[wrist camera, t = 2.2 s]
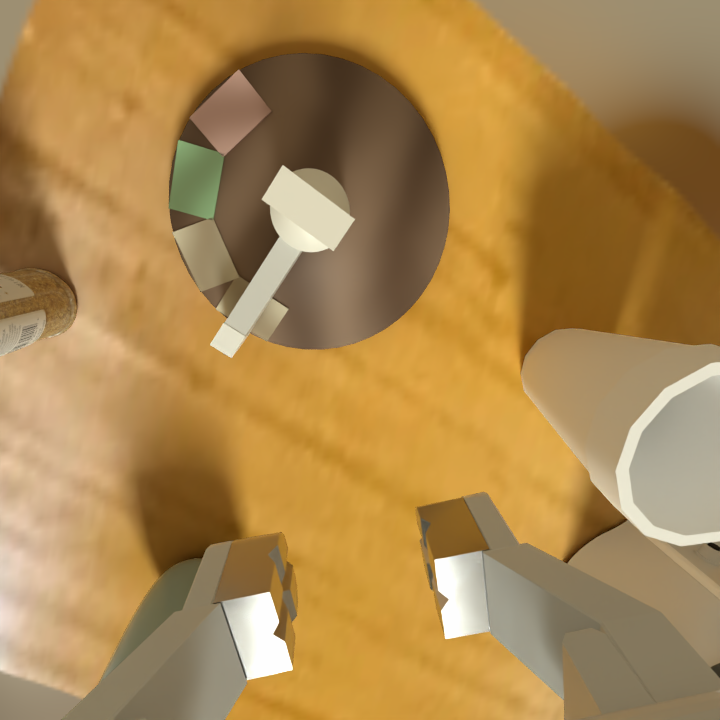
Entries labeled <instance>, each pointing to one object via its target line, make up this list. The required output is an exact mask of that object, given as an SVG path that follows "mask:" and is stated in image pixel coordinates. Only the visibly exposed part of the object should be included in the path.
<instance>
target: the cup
mask: <svg viewBox="0 0 720 720" xmlns="http://www.w3.org/2000/svg"><path fill="white" fill-rule="evenodd" d="M201 561H202V558H195V559H188V560H185V561H181V562H179V563H177V564H175V565H174V566H172V567H170V568H169V569H168V570H167V571H165V572H164V573H163V574H162V575H161V576H160V577H159V578H158V579H157V580H156V582H155V583H154V584H153V585H152V587H151V588H150V590H149V591H148V593H147V594H146V595H145V597H144V598H143V600H142V602H141V603H140V605H139V606H138V608H137V610H136V611H135V613H134V615H133V617H132V618H131V620H130V622H129V624H128V626H127V628H126V630H125V631H124V633H123V635H122V637H121V639H120V641H119V643H118V645H117V647H116V649H115V651H114V653H113V655H112V657H111V659H110V661H109V663H108V665H107V667H106V669H105V671H104V673H103V675H102V677H101V679H100V681H99V683H100V682H101V681H102V680H104V679H105V678H106V677H107V676H108V675H109V674H110V673H111V672H112V671H113V670H114V669H115V668H116V667H117V666H118V665H119V664H120V663H121V662H122V661H124V660H125V659H126V658H127V657H128V656H129V655H130V654H131V653H132V652H133V651H134V650H135V649H136V648H137V647H138V646H139V645H140V644H141V643H142V642H143V641H145V640H146V639H147V638H148V637H149V636H150V635H151V634H152V633H153V632H154V631H155V630H156V629H157V628H158V627H159V626H160V625H161V624H162V623H163V622H164V621H166V620H167V619H168V618H169V617H170V616H171V615H172V614H173V613H174V612H176V611H181V610H183V607H184V605H185V602H186V599H187V597H188V594H189V592H190V589H191V587H192V584H193V581H194V579H195V576H196V574H197V571H198V569H199V566H200V564H201Z"/></svg>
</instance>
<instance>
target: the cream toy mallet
mask: <svg viewBox="0 0 720 720" xmlns="http://www.w3.org/2000/svg"><path fill="white" fill-rule="evenodd" d="M261 200H263V201H264V202H266V203H267V204H268V205H270V214H271V220H272V223H273V226H274V228H275V230H276V232H277V233H278V235H279V236H280V237H279V238H278V240H277V241H276V243H275V244H274V246H273V248H272V249H271V251H270V252H269V254H268V255H267V257H266V259H265V260H264V262H263V263H262V265H261V266H260V268H259V270H258V271H257V273H256V274H255V276H254V277H253V279H252V281H251V282H250V284H249V285H248V287H247V288H246V290H245V292H244V293H243V295H242V296H241V298H240V299H239V301H238V303H237V304H236V306H235V307H234V309H233V310H232V312H231V314H230V315H229V317H228V318H227V320H226V321H225V322H224V323H223V325H222V327H221V328H220V330H219V331H218V333H217V334H216V336H215V338H214V339H213V341H212V342H211V344H210V345H211V346H213V347H214V348H216V349H217V350H219V351H221V352H222V353H224V354H226V355H227V356H229V357H231V358H232V357H233V355H234V354H235V353H236V352H237V350H238V349H239V348H240V346H241V345H242V344H243V342H244V341H245V339H246V338H247V336H248V335H249V333H250V332H251V330H252V329H253V327H254V326H255V324H256V322H257V320H258V319H259V317H260V316H261V314H262V312H263V311H264V309H265V308H266V306H267V305H268V303H269V302H270V300H271V299H272V297H273V296H274V294H275V293H276V291H277V290H278V288H279V286H280V285H281V283H282V282H283V280H284V279H285V277H286V276H287V274H288V273H289V271H290V270H291V268H292V267H293V265H294V264H295V262H296V260H297V259H298V257H299V256H300V254H301V253H302V251H304V252H319V251H323V250H325V249H328V248H330V249H331V250H332V251H334V250H335V248H336V247H337V245H338V244H339V242H340V241H341V239H342V238H343V236H344V235H345V233H346V232H347V230H348V229H349V227H350V226H351V225H352V223H353V222H354V220H355V219H354V218H353V217H351V216H350V207H349V201H348V198H347V195H346V193H345V191H344V189H343V187H342V186H341V184H340V183H339V182H338V181H337V180H336V179H335V178H334V177H332V176H331V175H329V174H328V173H326V172H324V171H321V170H318V169H312V168H305V169H299V170H296V171H293V172H291V171H290V170H289V169H287V168H286V167H285V166H284V165H282V167H281V169H280V170H279V172H278V173H277V175H276V177H275V178H274V180H273V182H272V183H271V185H270V186H269V188H268V190H267V191H266V193H265V195H264V196H263V198H262V199H261Z"/></svg>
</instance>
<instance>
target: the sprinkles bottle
mask: <svg viewBox="0 0 720 720" xmlns="http://www.w3.org/2000/svg"><path fill="white" fill-rule="evenodd" d="M76 313H77V306H76V300H75V297H74V293H73V292H72V290H71V289H70V288H69V286H68V285H67V284H66V283H65V282H64V281H63V280H61V279H60V278H59V277H58V276H56V275H55V274H52V273H51V272H49V271H46V270H42V269H36V268H24V269H19V270H16V271H14V272H9V273H0V356H3V355H5V354H8V353H11V352H13V351H16V350H18V349H21V348H24V347H26V346H28V345H30V344H32V343H34V342H35V341H38V340H41V339H43V338H51V337H55V336H58V335H60V334H62V333H64V332H65V331H66V330H67V329H69V328H70V327H71V325H72V324H73V322H74V320H75V318H76Z"/></svg>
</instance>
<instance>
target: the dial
mask: <svg viewBox="0 0 720 720" xmlns="http://www.w3.org/2000/svg"><path fill="white" fill-rule="evenodd" d="M189 118H190V120H189V121H188V123H187V125H186V127H185V129H184V131H183V133H182V135H181V138H180V140H178V145H177V149H176V152H175V155H174V158H173V163H172V169H171V175H170V181H169V208H170V218H171V224H172V228H173V232H172V233H173V235H174V237H175V241H176V244H177V247H178V249H179V252H180V255H181V258H182V260H183V262H184V264H185V266H186V268H187V270H188V272H189V274H190V276H191V277H192V279H193V280H194V282H195V283H196V285H197V286H198V288H199V290H200V292H202V293H203V294H204V296H205V297H206V298H207V299H208V300H209V301H210V303H211V304H212V305H213V306H214V307H215V308H216V310H218V311H220V312H221V313H222V314H223V315H224V316H225V317H226V318H228V317H229V315H230V314H231V312H232V310H233V309H234V307H235V306H236V304H237V303H238V301H239V299H240V298H241V296H242V295H243V293H244V292H245V290H246V288H247V287H248V285H249V284H250V282H251V281H252V279H253V277H254V276H255V274H256V273H257V271H258V270H259V268H260V266H261V265H262V263H263V262H264V260H265V259H266V257H267V255H268V254H269V252H270V251H271V249H272V248H273V246H274V244H275V243H276V241H277V240H278V238H279V237H280V236H279V235H278V233H277V232H276V230H275V228H274V226H273V223H272V220H271V214H270V205H268V204H267V203H266V202H264V201H263V200H261V199H262V198H263V196H264V195H265V193H266V191H267V190H268V188H269V186H270V185H271V183H272V182H273V180H274V178H275V177H276V175H277V173H278V172H279V170H280V169H281V167H282V165H284V166H285V167H286V168H287V169H289V170H290V171H291V172H293V171H296V170H299V169H305V168H312V169H318V170H321V171H324V172H326V173H328V174H329V175H331V176H332V177H334V178H335V179H336V180H337V181H338V182H339V183H340V184H341V186H342V187H343V189H344V191H345V193H346V195H347V198H348V201H349V207H350V216H351V217H353V218H354V219H355V220H354V222H353V223H352V225H351V226H350V227H349V229H348V230H347V232H346V233H345V235H344V236H343V238H342V239H341V241H340V242H339V244H338V245H337V247H336V248H335V250H334V251H332V250H331V249H330V248H328V249H325V250H323V251H319V252H304V251H302V253H301V254H300V256H299V257H298V259H297V260H296V262H295V264H294V265H293V267H292V268H291V270H290V271H289V273H288V274H287V276H286V277H285V279H284V280H283V282H282V283H281V285H280V286H279V288H278V290H277V291H276V293H275V294H274V296H273V297H272V299H271V300H270V302H269V303H268V305H267V306H266V308H265V309H264V311H263V312H262V314H261V316H260V317H259V319H258V320H257V322H256V324H255V326H254V327H253V329H252V330H251V332H250V333H251V334H253V335H255V336H257V337H259V338H262V339H264V340H265V341H269V342H272V343H275V344H279V345H283V346H287V347H292V348H300V349H329V348H337V347H342V346H346V345H350V344H354V343H357V342H359V341H362V340H364V339H367V338H369V337H371V336H373V335H375V334H377V333H379V332H381V331H382V330H384V329H386V328H387V327H388V326H390V325H391V324H393V323H394V322H395V321H397V320H398V319H399V318H400V317H401V316H402V315H404V314H405V313H406V312H407V311H408V310H409V309H410V308H411V307H412V306H413V304H414V303H415V302H416V301H417V300H418V298H419V297H420V296H421V295H422V293H423V292H424V290H425V289H426V287H427V285H428V284H429V282H430V281H431V279H432V277H433V275H434V273H435V271H436V269H437V266H438V264H439V261H440V259H441V256H442V253H443V250H444V246H445V242H446V237H447V232H448V224H449V213H450V206H449V189H448V182H447V176H446V171H445V168H444V164H443V161H442V157H441V154H440V151H439V149H438V147H437V144H436V142H435V140H434V137H433V135H432V134H431V132H430V130H429V128H428V127H427V125H426V123H425V122H424V120H423V118H422V117H421V116H420V114H419V113H418V112H417V110H416V109H415V108H414V107H413V105H412V104H411V103H410V102H409V101H408V100H407V99H406V98H405V97H404V96H403V95H402V94H401V93H400V92H399V91H398V90H397V89H396V88H395V87H394V86H392V85H391V84H390V83H388V82H387V81H386V80H384V79H383V78H382V77H380V76H379V75H377V74H375V73H373V72H372V71H370V70H368V69H366V68H364V67H363V66H360V65H358V64H355V63H352V62H350V61H347V60H344V59H341V58H337V57H332V56H328V55H323V54H308V53H298V54H287V55H280V56H276V57H272V58H268V59H264V60H261V61H259V62H256V63H254V64H251V65H249V66H247V67H244V68H243V69H241V70H239V69H238V70H237V71H236V72H235V73H234V74H233V75H231V76H229V77H228V78H226V79H225V80H224V81H223V82H222V83H221V84H219V85H218V86H217V87H216V88H215V89H213V90H212V91H211V92H210V93H209V95H208V96H207V97H206V98H205V99H204V100H203V101H202V102H201V104H200V105H199V106H198V107H197V109H196V110H195V112H194V113H193V114H192V115H191V116H190V117H189Z"/></svg>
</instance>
